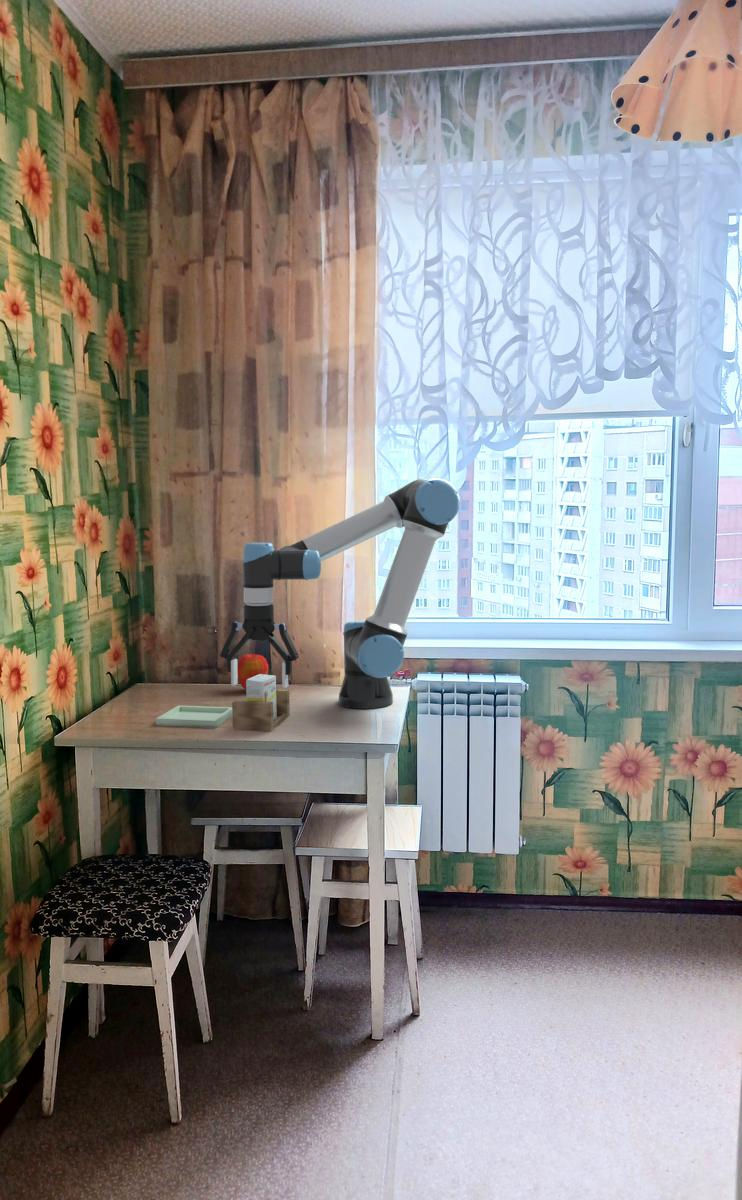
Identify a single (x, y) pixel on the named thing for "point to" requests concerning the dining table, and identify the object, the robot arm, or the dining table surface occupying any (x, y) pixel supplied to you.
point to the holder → (260, 713)
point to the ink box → (262, 690)
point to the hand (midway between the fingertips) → (259, 686)
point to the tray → (195, 716)
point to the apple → (251, 667)
